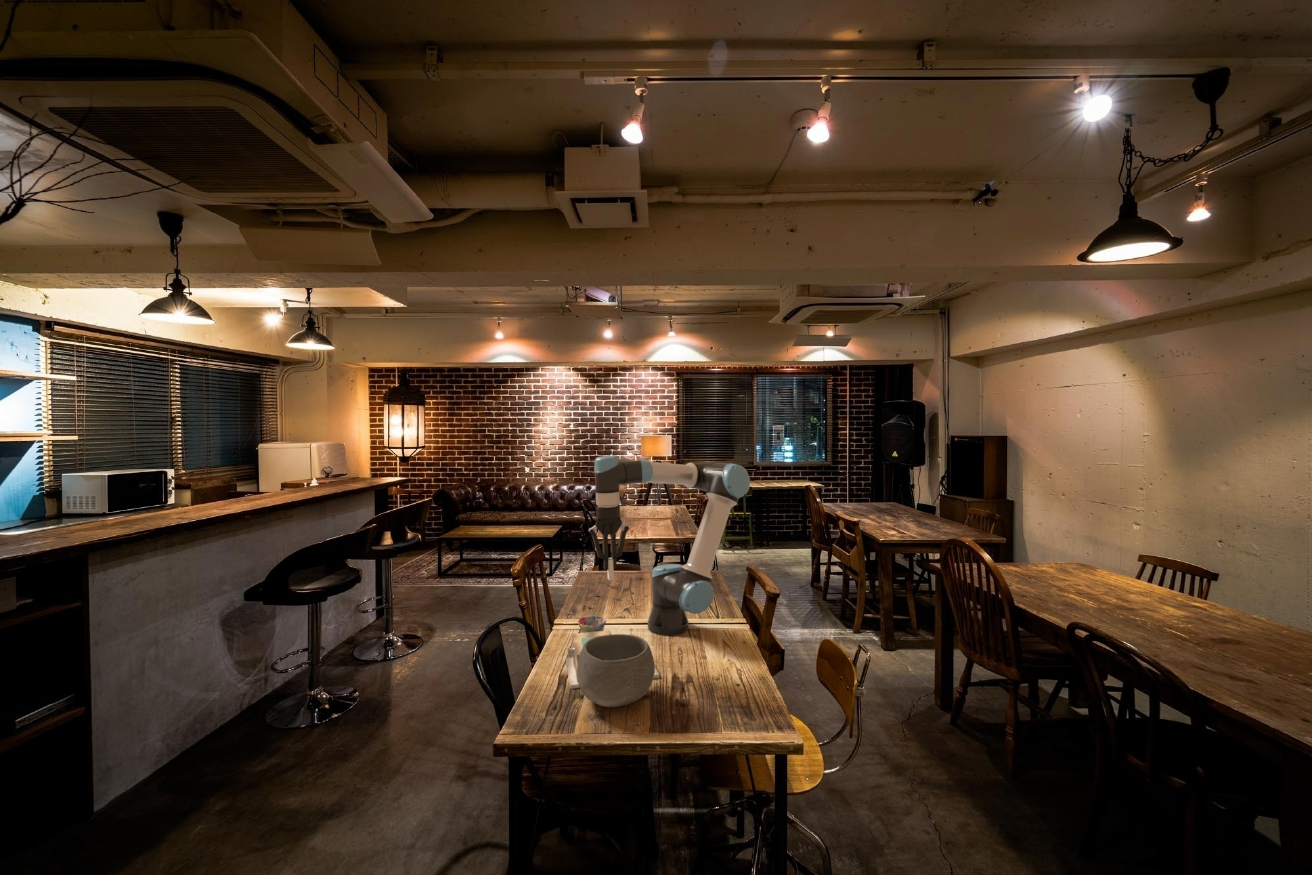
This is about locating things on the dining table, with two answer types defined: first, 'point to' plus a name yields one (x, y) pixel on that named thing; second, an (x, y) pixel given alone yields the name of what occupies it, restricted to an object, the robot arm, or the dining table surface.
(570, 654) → the pin
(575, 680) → the block
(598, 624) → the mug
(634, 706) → the dining table surface
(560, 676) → the dining table surface
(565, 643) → the dining table surface
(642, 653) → the bowl
